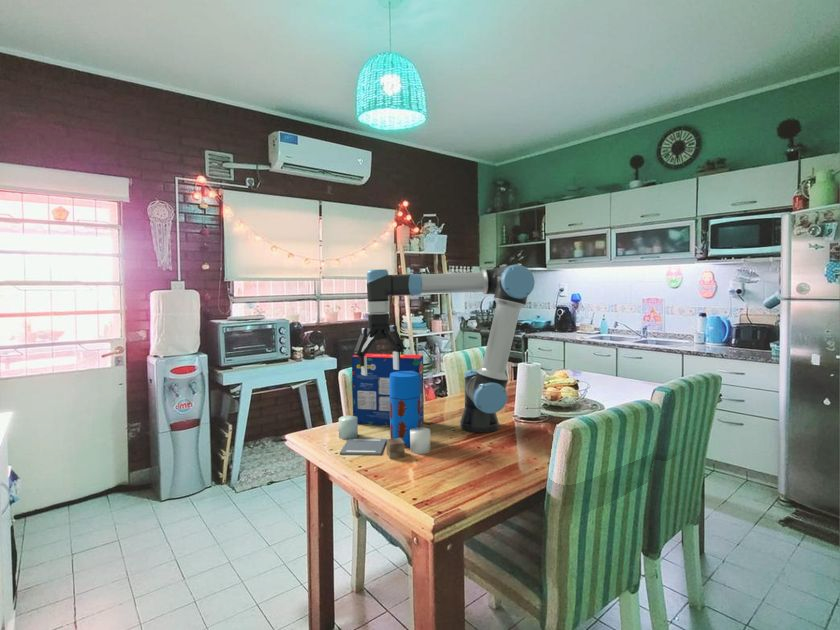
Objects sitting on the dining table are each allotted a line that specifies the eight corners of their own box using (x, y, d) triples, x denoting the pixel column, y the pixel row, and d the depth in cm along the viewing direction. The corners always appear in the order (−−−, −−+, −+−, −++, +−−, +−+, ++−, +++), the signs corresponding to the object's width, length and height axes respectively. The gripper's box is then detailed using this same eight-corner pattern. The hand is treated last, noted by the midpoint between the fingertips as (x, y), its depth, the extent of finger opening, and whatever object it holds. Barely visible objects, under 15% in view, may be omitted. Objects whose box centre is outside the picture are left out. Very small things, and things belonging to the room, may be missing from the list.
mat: (386, 440, 167) (386, 438, 167) (380, 455, 153) (380, 453, 153) (348, 439, 168) (348, 438, 168) (339, 454, 154) (339, 452, 154)
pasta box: (423, 421, 189) (423, 355, 187) (419, 427, 181) (418, 358, 179) (359, 418, 195) (358, 353, 193) (353, 423, 187) (351, 356, 185)
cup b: (359, 433, 175) (359, 415, 174) (355, 439, 168) (355, 421, 167) (341, 433, 175) (341, 415, 175) (337, 439, 168) (336, 421, 168)
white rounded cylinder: (430, 446, 160) (430, 427, 160) (430, 454, 153) (429, 434, 153) (411, 446, 161) (410, 427, 160) (409, 453, 154) (409, 433, 153)
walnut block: (401, 452, 156) (400, 437, 155) (404, 457, 151) (404, 442, 150) (386, 453, 154) (386, 439, 154) (389, 459, 149) (389, 444, 149)
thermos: (416, 448, 159) (415, 377, 157) (386, 446, 161) (385, 376, 159) (422, 437, 170) (421, 371, 168) (394, 435, 172) (393, 370, 170)
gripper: (400, 310, 172) (402, 366, 174) (342, 315, 157) (344, 375, 158) (412, 311, 166) (414, 368, 168) (353, 316, 151) (355, 379, 152)
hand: (380, 372), depth 163 cm, fingers open, 13 cm apart
